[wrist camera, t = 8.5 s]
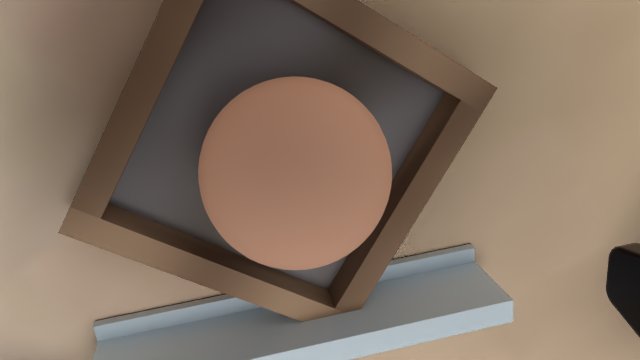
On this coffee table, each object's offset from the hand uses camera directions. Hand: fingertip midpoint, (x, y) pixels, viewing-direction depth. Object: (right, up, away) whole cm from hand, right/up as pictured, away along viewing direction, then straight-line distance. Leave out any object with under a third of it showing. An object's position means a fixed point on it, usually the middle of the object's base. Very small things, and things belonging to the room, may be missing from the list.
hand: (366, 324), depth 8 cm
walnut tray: (-2, +4, +11) cm, 12 cm away
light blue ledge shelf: (-2, -3, +13) cm, 14 cm away
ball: (-2, +4, +10) cm, 11 cm away
